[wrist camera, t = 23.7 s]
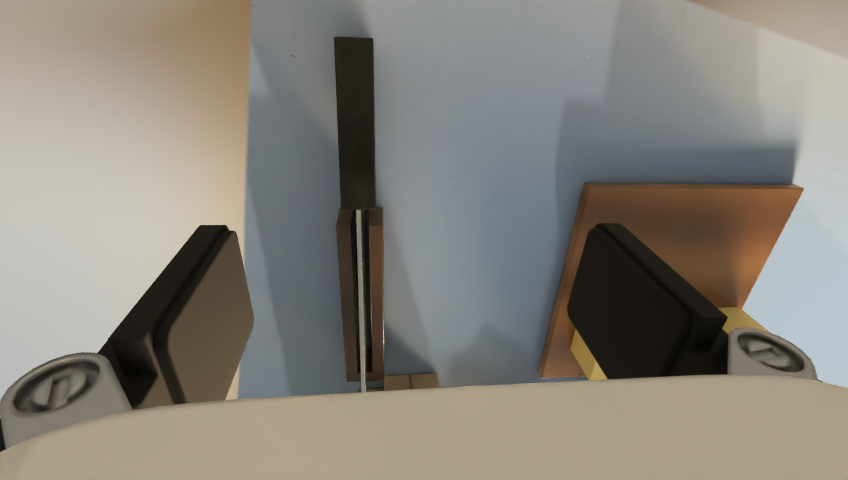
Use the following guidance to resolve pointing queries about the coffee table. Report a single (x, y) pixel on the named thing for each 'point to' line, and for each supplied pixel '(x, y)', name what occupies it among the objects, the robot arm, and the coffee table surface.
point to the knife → (357, 150)
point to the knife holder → (350, 294)
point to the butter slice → (586, 359)
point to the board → (677, 242)
